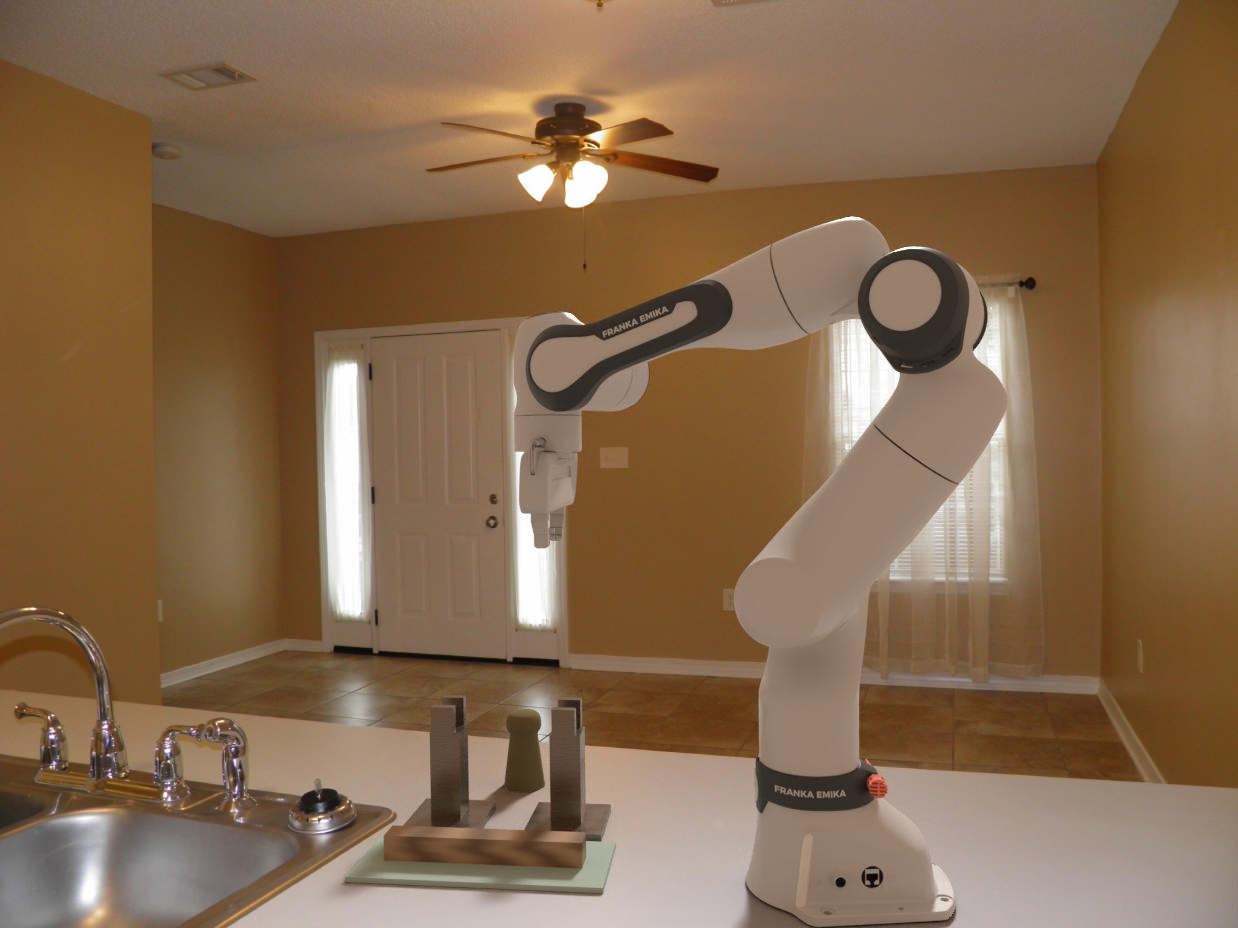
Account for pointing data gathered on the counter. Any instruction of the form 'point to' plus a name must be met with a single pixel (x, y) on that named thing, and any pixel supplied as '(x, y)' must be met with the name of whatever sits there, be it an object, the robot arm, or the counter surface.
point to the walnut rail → (485, 846)
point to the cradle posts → (460, 812)
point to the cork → (524, 752)
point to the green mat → (487, 872)
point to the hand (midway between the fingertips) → (549, 544)
